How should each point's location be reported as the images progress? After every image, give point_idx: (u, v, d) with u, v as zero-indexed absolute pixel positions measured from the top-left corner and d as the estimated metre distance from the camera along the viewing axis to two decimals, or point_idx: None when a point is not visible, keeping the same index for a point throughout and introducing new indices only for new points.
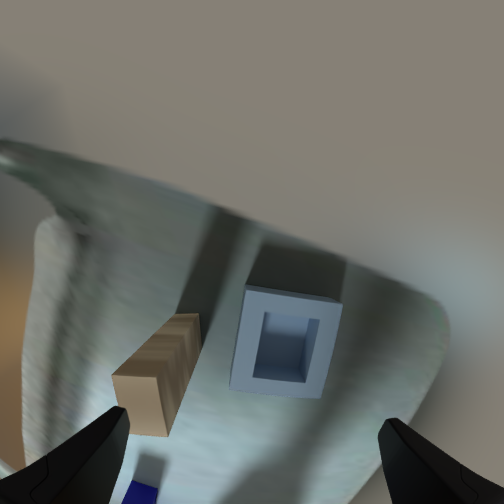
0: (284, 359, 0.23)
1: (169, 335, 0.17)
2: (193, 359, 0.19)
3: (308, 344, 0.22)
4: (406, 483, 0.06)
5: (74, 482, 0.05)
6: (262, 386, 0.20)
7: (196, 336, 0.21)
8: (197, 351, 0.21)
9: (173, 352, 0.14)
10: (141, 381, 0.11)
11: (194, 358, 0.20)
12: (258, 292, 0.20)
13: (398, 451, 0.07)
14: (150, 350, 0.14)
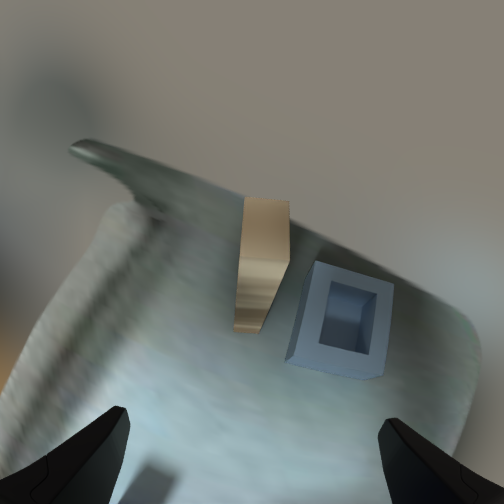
0: None
1: None
2: None
3: (365, 327, 0.22)
4: (407, 483, 0.06)
5: (74, 482, 0.05)
6: (328, 354, 0.19)
7: None
8: None
9: None
10: (275, 203, 0.13)
11: None
12: (325, 264, 0.23)
13: (398, 451, 0.07)
14: None
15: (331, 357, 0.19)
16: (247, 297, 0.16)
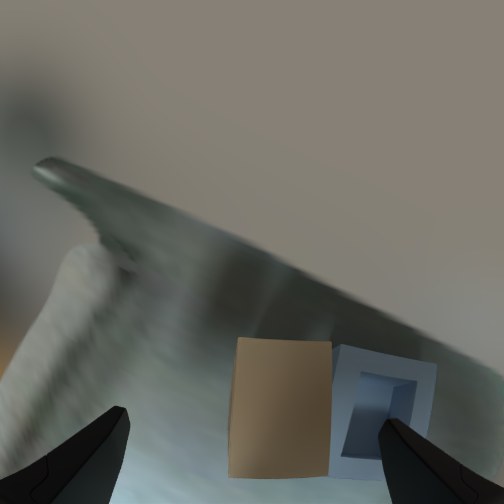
0: (363, 445, 0.15)
1: None
2: None
3: None
4: (406, 483, 0.06)
5: (74, 482, 0.05)
6: (351, 468, 0.12)
7: None
8: None
9: None
10: (303, 350, 0.06)
11: None
12: (354, 348, 0.15)
13: (398, 451, 0.07)
14: None
15: (355, 471, 0.12)
16: None
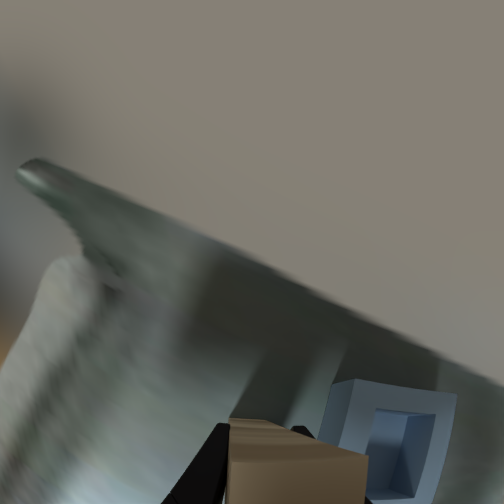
0: (373, 479, 0.12)
1: (261, 428, 0.09)
2: None
3: (411, 453, 0.12)
4: None
5: None
6: None
7: None
8: None
9: (310, 439, 0.06)
10: (327, 473, 0.03)
11: None
12: (369, 382, 0.13)
13: None
14: (259, 437, 0.06)
15: None
16: None
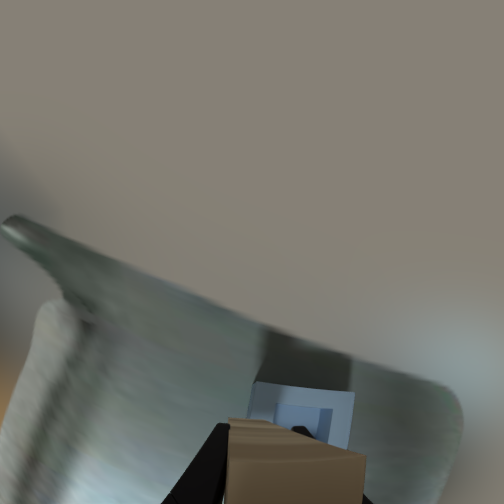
0: None
1: (260, 428, 0.09)
2: None
3: (321, 438, 0.18)
4: None
5: None
6: None
7: None
8: None
9: (308, 439, 0.06)
10: (325, 473, 0.03)
11: None
12: (269, 383, 0.18)
13: None
14: (258, 436, 0.06)
15: None
16: None
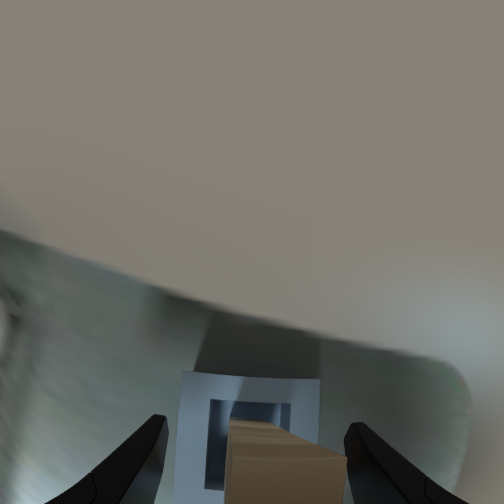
0: None
1: (259, 428, 0.10)
2: None
3: None
4: (370, 491, 0.06)
5: (123, 498, 0.05)
6: (221, 501, 0.11)
7: None
8: None
9: (302, 440, 0.07)
10: (311, 470, 0.04)
11: None
12: (199, 373, 0.14)
13: (361, 458, 0.07)
14: (257, 436, 0.07)
15: None
16: None
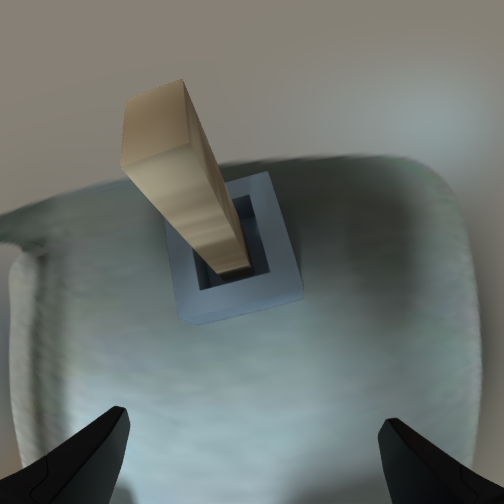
0: None
1: None
2: (240, 240, 0.15)
3: None
4: (407, 483, 0.06)
5: (74, 482, 0.05)
6: (216, 297, 0.16)
7: (243, 237, 0.18)
8: (246, 254, 0.17)
9: None
10: (164, 88, 0.08)
11: (242, 244, 0.16)
12: None
13: (398, 451, 0.07)
14: None
15: (222, 299, 0.16)
16: (193, 228, 0.12)
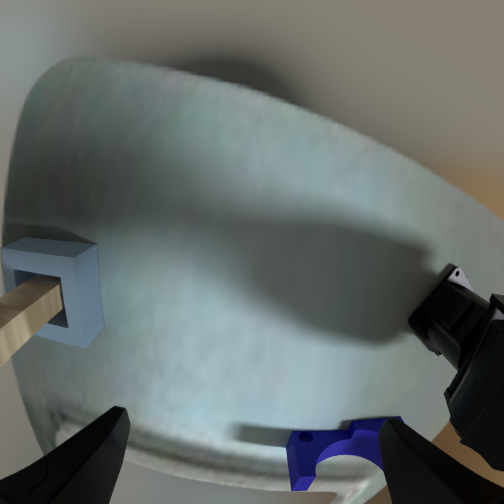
0: None
1: None
2: (34, 295, 0.16)
3: None
4: (406, 483, 0.06)
5: (74, 482, 0.05)
6: (73, 319, 0.18)
7: (40, 281, 0.18)
8: (50, 285, 0.18)
9: None
10: None
11: (38, 293, 0.16)
12: None
13: (398, 451, 0.07)
14: None
15: (74, 316, 0.18)
16: (13, 343, 0.12)
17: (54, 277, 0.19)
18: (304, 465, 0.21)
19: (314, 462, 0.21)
